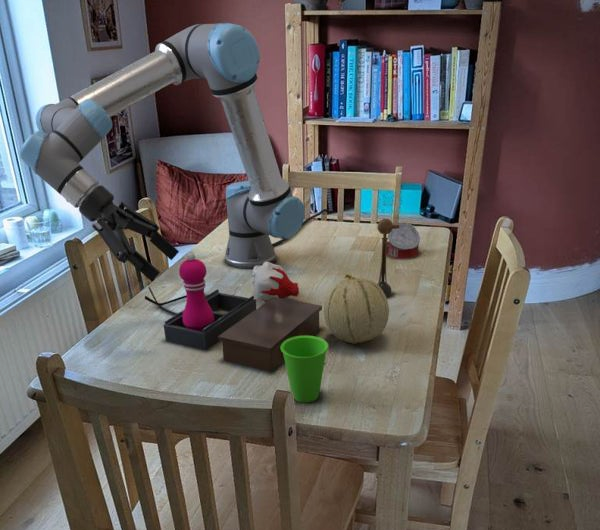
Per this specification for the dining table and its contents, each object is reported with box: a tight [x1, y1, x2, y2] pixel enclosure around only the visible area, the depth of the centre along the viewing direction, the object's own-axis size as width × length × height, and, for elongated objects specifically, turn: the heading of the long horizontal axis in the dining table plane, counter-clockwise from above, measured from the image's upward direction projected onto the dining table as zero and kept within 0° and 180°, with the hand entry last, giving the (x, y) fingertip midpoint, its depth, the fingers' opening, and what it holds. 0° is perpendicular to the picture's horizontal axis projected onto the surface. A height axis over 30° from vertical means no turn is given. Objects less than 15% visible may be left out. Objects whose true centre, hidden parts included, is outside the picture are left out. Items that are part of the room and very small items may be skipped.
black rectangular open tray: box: [163, 289, 257, 351], centre depth 152 cm, size 22×12×5 cm, turn 152°
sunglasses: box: [144, 286, 187, 316], centre depth 163 cm, size 17×14×5 cm
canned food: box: [386, 222, 421, 260], centre depth 195 cm, size 11×10×10 cm
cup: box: [280, 335, 329, 403], centre depth 122 cm, size 9×9×11 cm
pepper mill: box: [178, 252, 214, 332], centre depth 145 cm, size 7×7×20 cm
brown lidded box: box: [218, 297, 323, 373], centre depth 143 cm, size 24×13×6 cm, turn 152°
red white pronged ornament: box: [251, 262, 300, 303], centre depth 165 cm, size 9×11×15 cm
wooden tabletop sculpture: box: [376, 218, 399, 298], centre depth 163 cm, size 6×5×20 cm
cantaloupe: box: [323, 273, 390, 345], centre depth 142 cm, size 15×15×15 cm
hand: (166, 266), depth 142 cm, fingers open, 13 cm apart
